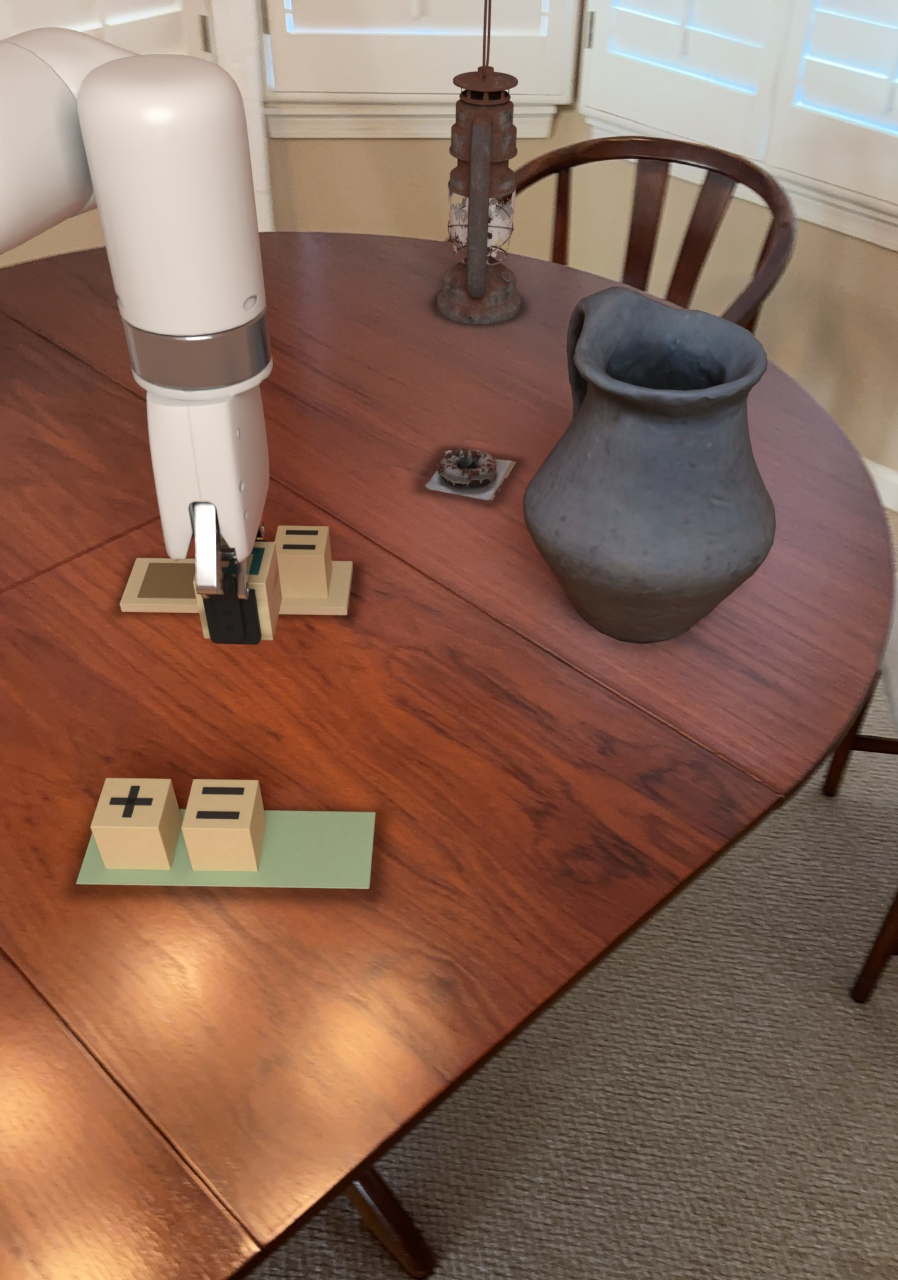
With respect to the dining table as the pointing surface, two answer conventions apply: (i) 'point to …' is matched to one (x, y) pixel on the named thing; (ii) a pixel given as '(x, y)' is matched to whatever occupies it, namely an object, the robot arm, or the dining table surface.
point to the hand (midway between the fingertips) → (242, 613)
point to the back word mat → (302, 573)
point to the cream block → (256, 587)
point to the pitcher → (652, 468)
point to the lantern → (482, 196)
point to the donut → (470, 473)
